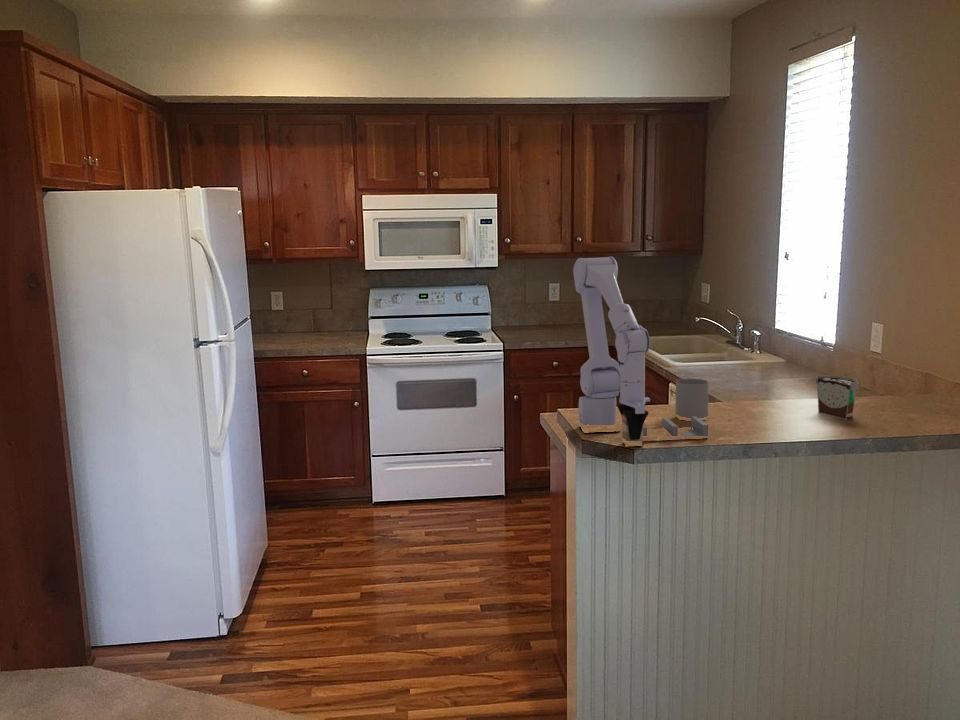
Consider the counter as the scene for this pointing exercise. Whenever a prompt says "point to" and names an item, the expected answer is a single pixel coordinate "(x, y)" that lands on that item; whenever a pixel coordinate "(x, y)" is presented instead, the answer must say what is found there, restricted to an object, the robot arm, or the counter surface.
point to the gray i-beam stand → (698, 430)
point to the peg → (626, 432)
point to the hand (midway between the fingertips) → (632, 436)
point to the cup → (692, 398)
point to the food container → (836, 395)
